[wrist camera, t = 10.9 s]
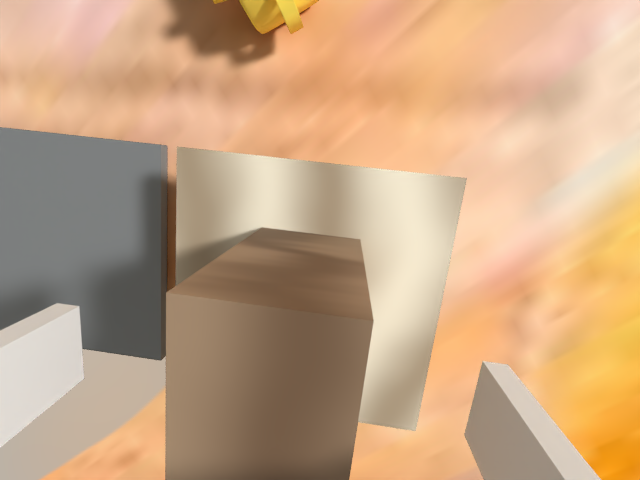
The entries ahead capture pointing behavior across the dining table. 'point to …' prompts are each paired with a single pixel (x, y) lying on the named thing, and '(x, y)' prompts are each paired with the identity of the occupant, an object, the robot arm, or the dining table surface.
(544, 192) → the dining table surface
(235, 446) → the lid
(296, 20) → the teapot
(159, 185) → the mat
